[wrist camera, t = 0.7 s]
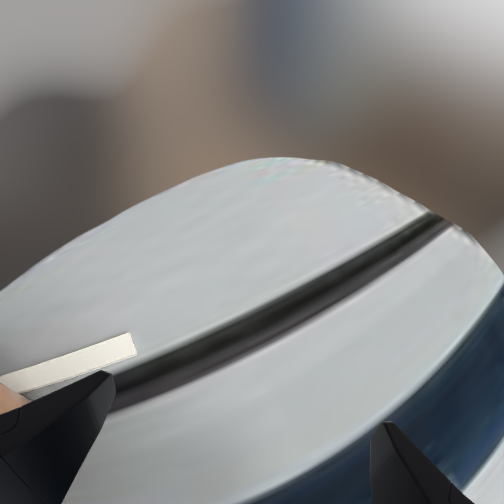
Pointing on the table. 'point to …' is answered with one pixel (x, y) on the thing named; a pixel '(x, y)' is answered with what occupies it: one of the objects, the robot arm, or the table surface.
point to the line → (71, 364)
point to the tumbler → (10, 399)
